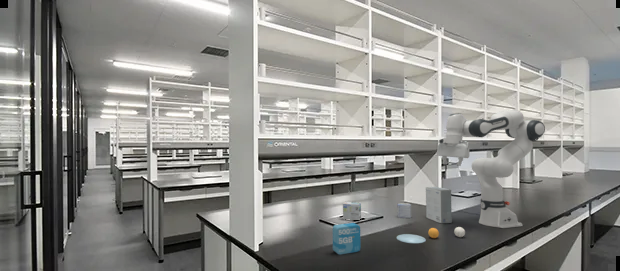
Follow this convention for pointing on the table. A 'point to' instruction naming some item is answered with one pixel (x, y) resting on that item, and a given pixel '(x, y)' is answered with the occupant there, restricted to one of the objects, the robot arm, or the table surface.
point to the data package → (346, 238)
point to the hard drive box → (438, 204)
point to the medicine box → (404, 210)
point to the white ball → (459, 232)
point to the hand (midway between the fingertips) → (451, 165)
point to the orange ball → (433, 233)
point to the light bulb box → (352, 210)
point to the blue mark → (411, 238)
